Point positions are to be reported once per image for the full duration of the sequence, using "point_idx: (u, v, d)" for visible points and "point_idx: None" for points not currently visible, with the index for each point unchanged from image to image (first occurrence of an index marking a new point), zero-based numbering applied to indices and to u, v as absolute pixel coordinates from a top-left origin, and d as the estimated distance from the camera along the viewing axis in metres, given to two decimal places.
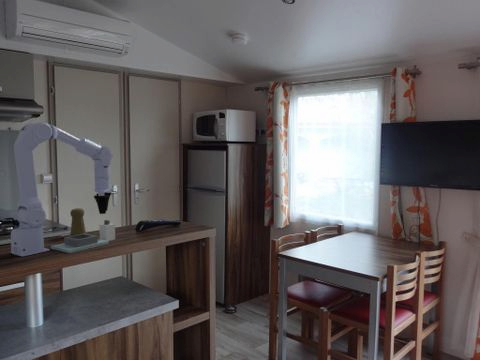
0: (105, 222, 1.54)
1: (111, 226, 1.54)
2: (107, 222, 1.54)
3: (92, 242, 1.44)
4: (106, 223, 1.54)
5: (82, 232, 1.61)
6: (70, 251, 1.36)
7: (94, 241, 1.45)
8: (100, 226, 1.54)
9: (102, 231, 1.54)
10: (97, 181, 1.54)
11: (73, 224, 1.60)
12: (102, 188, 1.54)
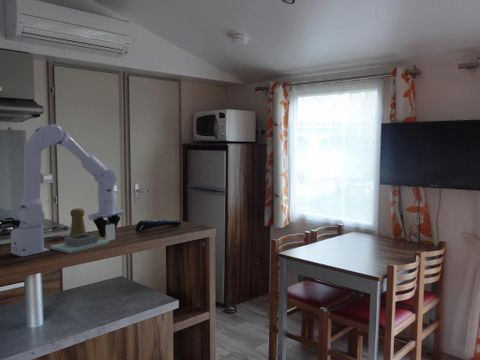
0: None
1: (111, 226, 1.54)
2: (107, 222, 1.54)
3: (92, 242, 1.44)
4: (106, 223, 1.54)
5: (82, 232, 1.61)
6: (70, 251, 1.36)
7: (94, 241, 1.45)
8: None
9: None
10: None
11: (73, 224, 1.60)
12: (100, 212, 1.52)
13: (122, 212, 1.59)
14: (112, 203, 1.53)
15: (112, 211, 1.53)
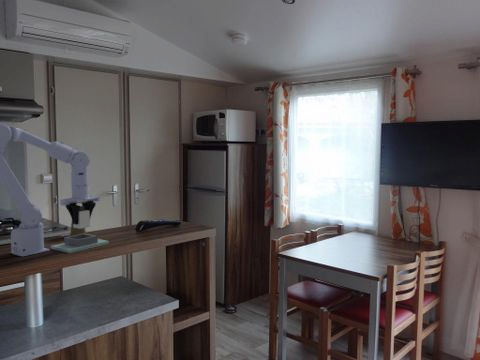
0: (79, 208, 1.43)
1: (85, 212, 1.44)
2: (81, 208, 1.43)
3: (92, 242, 1.44)
4: (80, 209, 1.43)
5: (82, 232, 1.61)
6: (70, 251, 1.36)
7: (94, 241, 1.45)
8: None
9: None
10: None
11: None
12: (73, 197, 1.42)
13: (98, 198, 1.49)
14: (86, 188, 1.43)
15: (86, 196, 1.43)
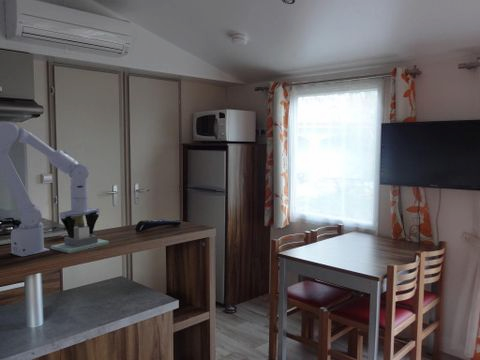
0: (78, 225, 1.43)
1: (85, 229, 1.44)
2: (81, 225, 1.43)
3: (92, 242, 1.44)
4: (79, 226, 1.43)
5: None
6: (70, 251, 1.36)
7: (94, 241, 1.45)
8: None
9: (75, 234, 1.43)
10: (71, 201, 1.42)
11: None
12: (72, 209, 1.41)
13: (97, 210, 1.49)
14: (86, 200, 1.43)
15: (86, 209, 1.43)
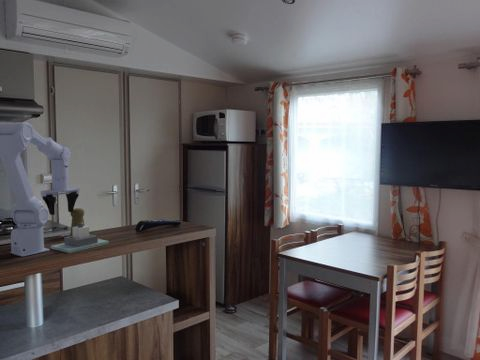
0: (78, 225, 1.43)
1: (85, 229, 1.44)
2: (81, 225, 1.43)
3: (92, 242, 1.44)
4: (79, 226, 1.43)
5: None
6: (70, 251, 1.36)
7: (94, 241, 1.45)
8: (73, 229, 1.43)
9: (75, 234, 1.43)
10: (52, 181, 1.52)
11: (73, 224, 1.60)
12: (53, 188, 1.51)
13: (77, 190, 1.58)
14: (66, 180, 1.52)
15: (66, 188, 1.52)
